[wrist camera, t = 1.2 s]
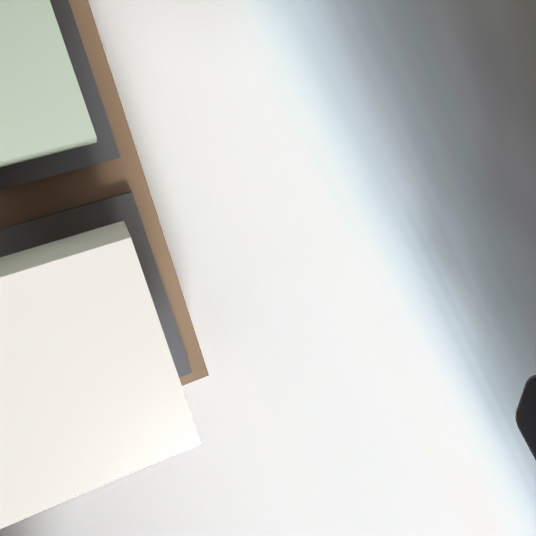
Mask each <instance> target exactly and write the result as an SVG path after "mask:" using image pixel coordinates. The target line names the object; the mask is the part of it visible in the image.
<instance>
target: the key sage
mask: <svg viewBox="0 0 536 536" xmlns="http://www.w3.org/2000/svg"><path fill="white" fill-rule="evenodd" d="M93 143H97V137H96V134H95V131H94V128H93V125H92V122H91V119H90V116H89V113H88V111H87V108H86V105H85V102H84V99H83V96H82V93H81V90H80V87H79V84H78V81H77V78H76V75H75V73H74V70H73V67H72V64H71V61H70V58H69V55H68V52H67V49H66V46H65V43H64V40H63V38H62V35H61V32H60V29H59V26H58V23H57V20H56V17H55V14H54V11H53V8H52V5H51V3H50V0H0V167H4V166H8V165H12V164H16V163H19V162H23V161H27V160H31V159H35V158H39V157H43V156H47V155H51V154H54V153H58V152H62V151H66V150H70V149H74V148H78V147H82V146H85V145H89V144H93Z"/></svg>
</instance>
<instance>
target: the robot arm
mask: <svg viewBox="0 0 536 536" xmlns="http://www.w3.org/2000/svg"><path fill="white" fill-rule="evenodd" d="M516 422H517V426H518V428H519V430H520V432H521V434H522V436H523V437H524V439H525V441H526V443H527V445H528V447H529V449H530V451H531V452H532V454H533V456H534V458H535V460H536V375H534V376H531V377H530V378H529V379H528V380H527V381H526V383H525V386H524V389H523V392H522V395H521V398H520V401H519V404H518V407H517V410H516Z"/></svg>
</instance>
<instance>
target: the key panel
mask: <svg viewBox="0 0 536 536" xmlns="http://www.w3.org/2000/svg"><path fill="white" fill-rule="evenodd" d="M50 3H51V5H52V8H53V11H54V14H55V17H56V20H57V23H58V26H59V29H60V32H61V35H62V38H63V40H64V43H65V46H66V49H67V52H68V55H69V58H70V61H71V64H72V67H73V70H74V73H75V75H76V78H77V81H78V84H79V87H80V90H81V93H82V96H83V99H84V102H85V105H86V108H87V111H88V113H89V116H90V119H91V122H92V125H93V128H94V131H95V134H96V137H97V143H93V144H89V145H85V146H82V147H78V148H74V149H70V150H66V151H62V152H58V153H54V154H51V155H47V156H43V157H39V158H35V159H31V160H27V161H23V162H19V163H16V164H12V165H8V166H4V167H0V257H3V256H7V255H10V254H13V253H17V252H20V251H23V250H27V249H30V248H34V247H37V246H40V245H44V244H47V243H50V242H54V241H57V240H60V239H64V238H67V237H70V236H74V235H77V234H80V233H84V232H87V231H90V230H94V229H97V228H100V227H104V226H107V225H110V224H114V223H117V222H121V221H124V222H125V225H126V227H127V229H128V232H129V234H130V236H131V239H132V242H133V245H134V248H135V251H136V254H137V257H138V259H139V262H140V265H141V268H142V271H143V274H144V277H145V280H146V283H147V286H148V289H149V292H150V294H151V297H152V300H153V303H154V306H155V309H156V312H157V315H158V318H159V321H160V324H161V327H162V330H163V332H164V335H165V338H166V341H167V344H168V347H169V350H170V353H171V356H172V359H173V362H174V365H175V367H176V370H177V373H178V376H179V379H180V382H181V385H182V386H183V385H185V384H188V383H190V382H193V381H195V380H198V379H201V378H203V377H206V376H208V371H207V368H206V365H205V362H204V359H203V356H202V353H201V350H200V347H199V344H198V340H197V337H196V334H195V331H194V328H193V325H192V322H191V319H190V316H189V313H188V309H187V306H186V303H185V300H184V297H183V294H182V291H181V288H180V285H179V282H178V278H177V275H176V272H175V269H174V266H173V263H172V260H171V257H170V254H169V251H168V247H167V244H166V241H165V238H164V235H163V232H162V229H161V226H160V223H159V220H158V217H157V213H156V210H155V207H154V204H153V201H152V198H151V195H150V192H149V189H148V186H147V182H146V179H145V176H144V173H143V170H142V167H141V164H140V161H139V158H138V155H137V151H136V148H135V145H134V142H133V139H132V136H131V133H130V130H129V127H128V124H127V120H126V117H125V114H124V111H123V108H122V105H121V102H120V99H119V96H118V93H117V89H116V86H115V83H114V80H113V77H112V74H111V71H110V68H109V65H108V62H107V58H106V55H105V52H104V49H103V46H102V43H101V40H100V37H99V34H98V31H97V27H96V24H95V21H94V18H93V15H92V12H91V9H90V6H89V3H88V0H50Z"/></svg>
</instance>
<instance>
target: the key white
mask: <svg viewBox="0 0 536 536" xmlns="http://www.w3.org/2000/svg"><path fill="white" fill-rule="evenodd" d="M200 444H202V443H201V440H200V438H199V435H198V432H197V429H196V426H195V423H194V420H193V417H192V414H191V411H190V408H189V405H188V403H187V400H186V397H185V394H184V391H183V388H182V385H181V382H180V379H179V376H178V373H177V370H176V367H175V365H174V362H173V359H172V356H171V353H170V350H169V347H168V344H167V341H166V338H165V335H164V332H163V330H162V327H161V324H160V321H159V318H158V315H157V312H156V309H155V306H154V303H153V300H152V297H151V294H150V292H149V289H148V286H147V283H146V280H145V277H144V274H143V271H142V268H141V265H140V262H139V259H138V257H137V254H136V251H135V248H134V245H133V242H132V239H131V236H130V234H129V232H128V229H127V227H126V225H125V222H124V221H121V222H117V223H114V224H110V225H107V226H104V227H100V228H97V229H94V230H90V231H87V232H84V233H80V234H77V235H74V236H70V237H67V238H64V239H60V240H57V241H54V242H50V243H47V244H44V245H40V246H37V247H34V248H30V249H27V250H23V251H20V252H17V253H13V254H10V255H7V256H3V257H0V529H2V528H4V527H7V526H9V525H11V524H14V523H16V522H19V521H21V520H23V519H26V518H28V517H30V516H33V515H35V514H37V513H40V512H42V511H44V510H47V509H49V508H52V507H54V506H56V505H59V504H61V503H63V502H66V501H68V500H70V499H73V498H75V497H78V496H80V495H82V494H85V493H87V492H89V491H92V490H94V489H96V488H99V487H101V486H103V485H106V484H108V483H111V482H113V481H115V480H118V479H120V478H122V477H125V476H127V475H129V474H132V473H134V472H137V471H139V470H141V469H144V468H146V467H148V466H151V465H153V464H155V463H158V462H160V461H162V460H165V459H167V458H170V457H172V456H174V455H177V454H179V453H181V452H184V451H186V450H188V449H191V448H193V447H196V446H198V445H200Z"/></svg>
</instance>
